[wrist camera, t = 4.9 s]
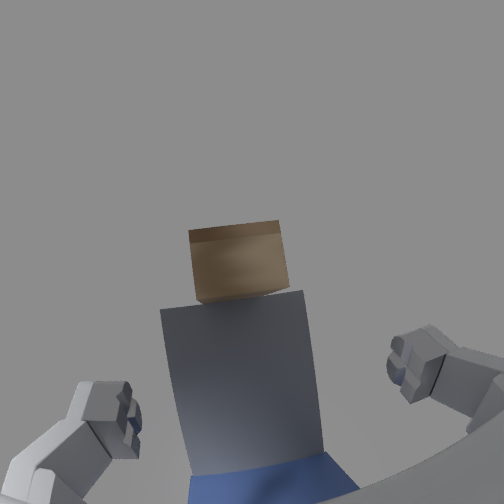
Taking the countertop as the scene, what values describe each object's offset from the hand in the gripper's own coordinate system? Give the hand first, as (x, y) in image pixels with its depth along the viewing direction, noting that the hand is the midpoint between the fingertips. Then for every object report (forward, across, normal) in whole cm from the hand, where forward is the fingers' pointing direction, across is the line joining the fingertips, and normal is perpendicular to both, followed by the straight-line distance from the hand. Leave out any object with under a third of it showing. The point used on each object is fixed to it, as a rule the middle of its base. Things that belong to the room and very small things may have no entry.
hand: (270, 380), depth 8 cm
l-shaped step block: (-6, 0, +26) cm, 26 cm away
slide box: (+14, 0, +5) cm, 14 cm away
